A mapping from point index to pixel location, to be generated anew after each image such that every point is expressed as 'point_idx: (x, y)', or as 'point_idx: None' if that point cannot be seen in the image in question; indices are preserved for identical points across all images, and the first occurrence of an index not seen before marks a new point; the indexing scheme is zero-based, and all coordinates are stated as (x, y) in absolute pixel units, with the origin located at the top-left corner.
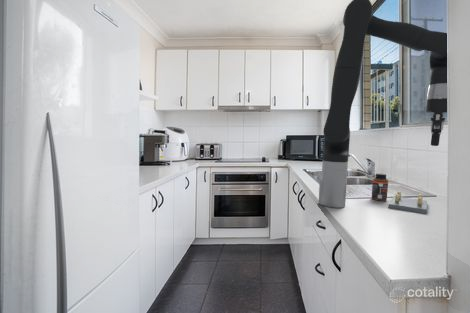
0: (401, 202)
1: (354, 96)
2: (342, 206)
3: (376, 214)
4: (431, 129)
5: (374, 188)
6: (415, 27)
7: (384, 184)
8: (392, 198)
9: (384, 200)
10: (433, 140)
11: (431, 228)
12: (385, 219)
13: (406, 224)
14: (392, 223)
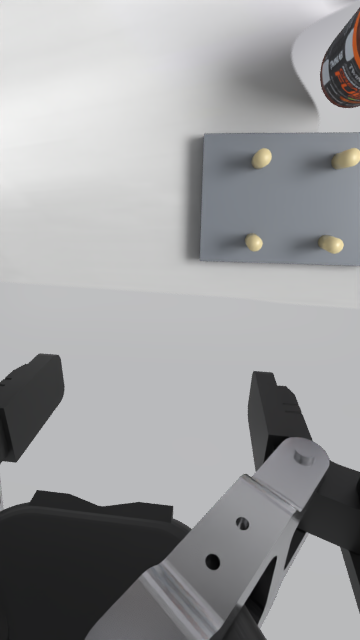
0: (267, 177)
1: None
2: None
3: (69, 112)
4: (240, 479)
5: (352, 17)
6: None
7: (355, 66)
8: (337, 133)
9: (330, 100)
10: (3, 385)
11: (41, 265)
12: (31, 150)
13: (27, 209)
14: (6, 174)
